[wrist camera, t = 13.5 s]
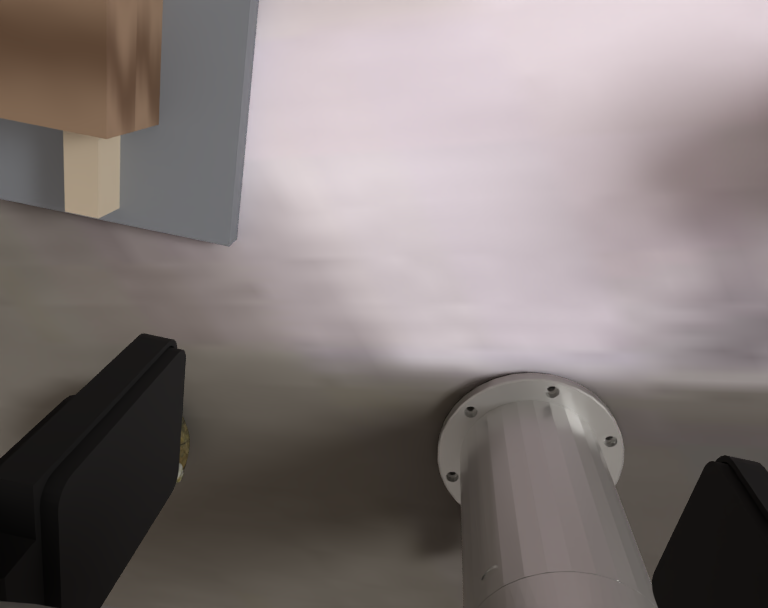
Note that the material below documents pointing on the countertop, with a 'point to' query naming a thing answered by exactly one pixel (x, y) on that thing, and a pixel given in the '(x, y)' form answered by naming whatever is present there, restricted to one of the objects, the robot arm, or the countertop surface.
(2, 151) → the cleat board
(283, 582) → the countertop surface
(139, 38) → the saddle block
